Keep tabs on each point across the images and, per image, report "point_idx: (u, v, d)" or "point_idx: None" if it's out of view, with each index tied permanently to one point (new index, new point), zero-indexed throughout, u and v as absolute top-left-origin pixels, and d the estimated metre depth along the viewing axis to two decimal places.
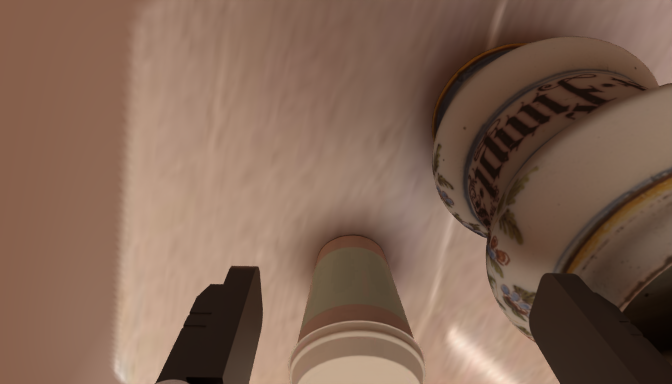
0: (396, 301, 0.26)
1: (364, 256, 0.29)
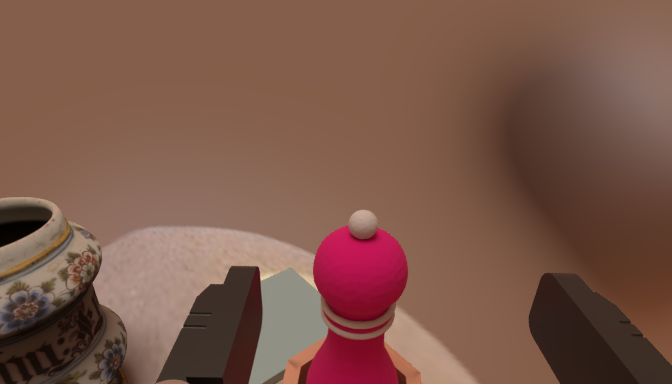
0: None
1: None
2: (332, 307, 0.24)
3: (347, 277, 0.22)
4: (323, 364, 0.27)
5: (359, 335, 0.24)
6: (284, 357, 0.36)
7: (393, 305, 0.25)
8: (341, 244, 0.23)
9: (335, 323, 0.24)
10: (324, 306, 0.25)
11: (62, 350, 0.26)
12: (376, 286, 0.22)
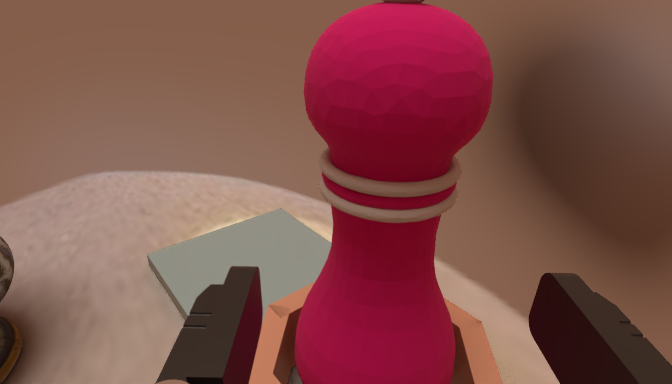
0: None
1: None
2: (342, 163, 0.12)
3: (377, 56, 0.10)
4: (325, 292, 0.15)
5: (397, 212, 0.12)
6: None
7: (458, 166, 0.13)
8: (361, 11, 0.11)
9: (347, 193, 0.12)
10: (326, 166, 0.13)
11: None
12: (441, 76, 0.10)
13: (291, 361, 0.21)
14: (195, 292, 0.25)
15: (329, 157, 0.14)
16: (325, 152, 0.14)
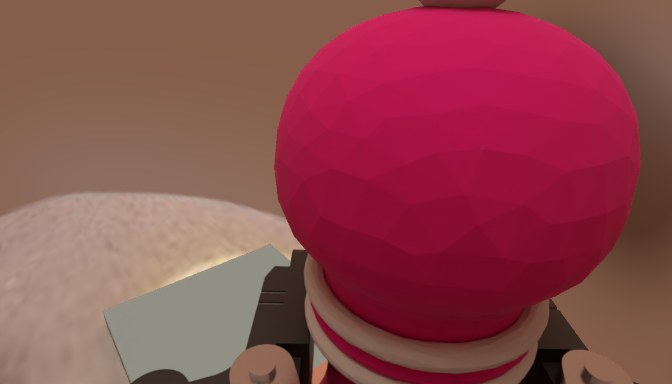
0: None
1: None
2: (342, 293, 0.07)
3: (423, 129, 0.04)
4: None
5: None
6: None
7: None
8: (381, 25, 0.05)
9: (352, 350, 0.07)
10: (315, 290, 0.07)
11: None
12: (568, 176, 0.04)
13: None
14: None
15: None
16: None
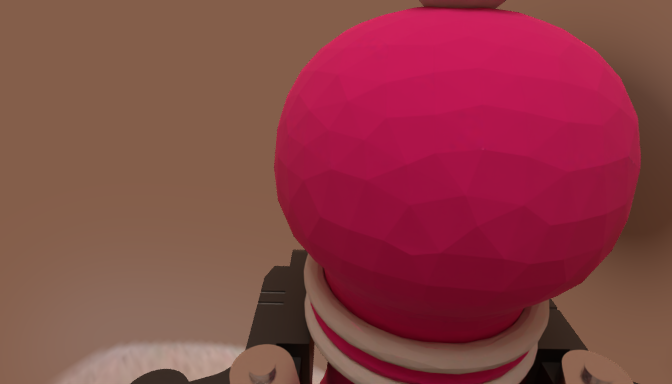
0: None
1: None
2: (342, 293, 0.07)
3: (423, 130, 0.04)
4: None
5: None
6: None
7: None
8: (381, 25, 0.05)
9: (352, 350, 0.07)
10: (315, 291, 0.07)
11: None
12: (568, 176, 0.04)
13: None
14: None
15: (321, 264, 0.08)
16: None
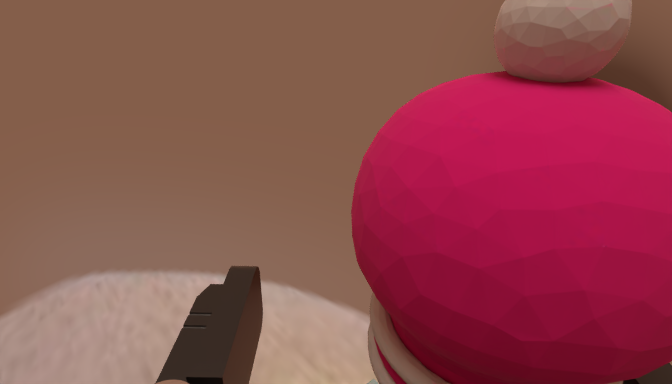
0: None
1: None
2: (419, 349, 0.07)
3: (540, 224, 0.04)
4: None
5: None
6: None
7: None
8: (476, 101, 0.06)
9: None
10: (388, 344, 0.07)
11: None
12: None
13: None
14: None
15: (387, 313, 0.08)
16: None
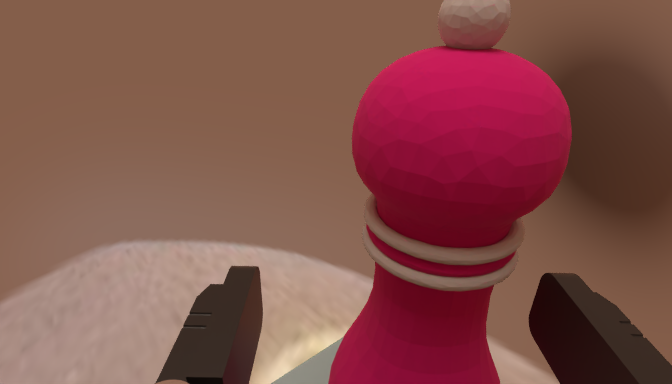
0: None
1: None
2: (394, 222, 0.11)
3: (450, 117, 0.09)
4: (365, 350, 0.14)
5: (457, 281, 0.11)
6: None
7: (520, 223, 0.12)
8: (424, 59, 0.10)
9: (400, 256, 0.11)
10: (375, 223, 0.12)
11: None
12: (524, 141, 0.08)
13: None
14: None
15: (375, 209, 0.12)
16: (370, 202, 0.13)
